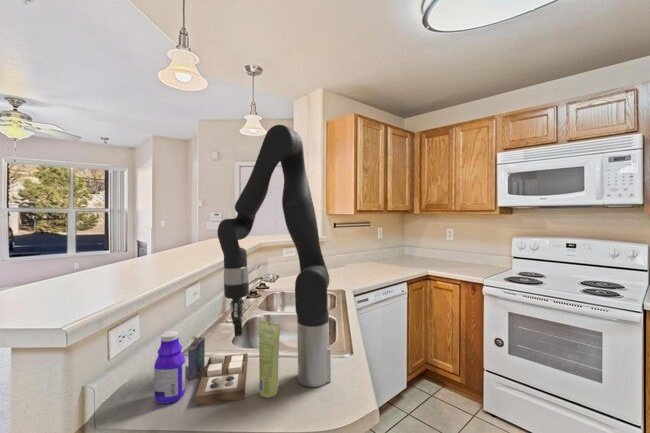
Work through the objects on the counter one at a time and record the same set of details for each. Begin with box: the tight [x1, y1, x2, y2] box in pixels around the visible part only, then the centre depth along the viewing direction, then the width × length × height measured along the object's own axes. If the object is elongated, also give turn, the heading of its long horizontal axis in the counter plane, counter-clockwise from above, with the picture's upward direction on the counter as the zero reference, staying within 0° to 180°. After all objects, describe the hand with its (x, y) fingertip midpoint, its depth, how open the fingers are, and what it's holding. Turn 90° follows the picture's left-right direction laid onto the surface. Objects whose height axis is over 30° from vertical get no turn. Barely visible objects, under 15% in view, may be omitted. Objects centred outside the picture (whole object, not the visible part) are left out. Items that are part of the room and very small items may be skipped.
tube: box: [257, 319, 281, 399], centre depth 79 cm, size 6×5×20 cm
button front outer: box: [207, 363, 222, 377], centre depth 85 cm, size 4×4×2 cm
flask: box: [187, 336, 206, 380], centre depth 90 cm, size 9×3×11 cm, turn 4°
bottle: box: [153, 330, 186, 404], centre depth 77 cm, size 7×6×17 cm
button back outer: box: [211, 352, 226, 364], centre depth 91 cm, size 4×4×2 cm
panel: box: [195, 352, 249, 407], centre depth 85 cm, size 12×20×3 cm, turn 13°
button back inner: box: [231, 354, 243, 362], centre depth 92 cm, size 4×4×2 cm
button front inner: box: [228, 361, 242, 374], centre depth 86 cm, size 4×4×2 cm
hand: (238, 334), depth 92 cm, fingers closed
